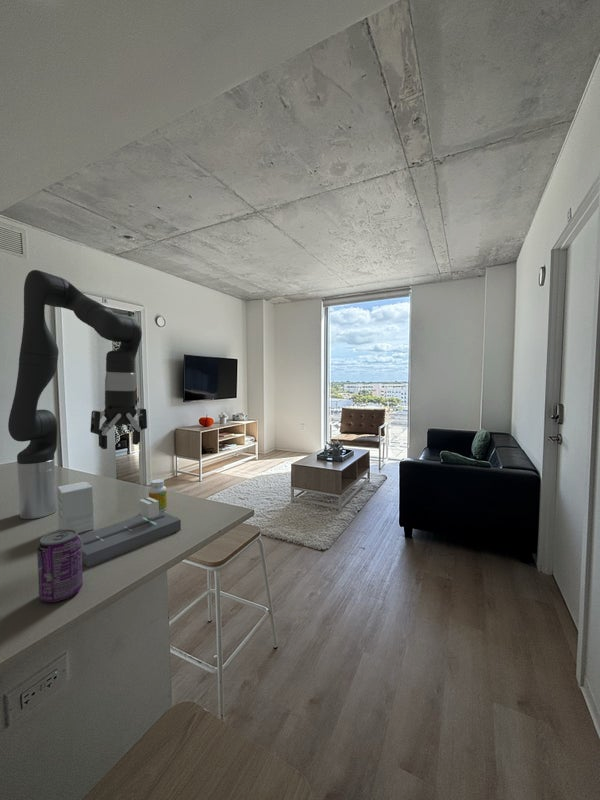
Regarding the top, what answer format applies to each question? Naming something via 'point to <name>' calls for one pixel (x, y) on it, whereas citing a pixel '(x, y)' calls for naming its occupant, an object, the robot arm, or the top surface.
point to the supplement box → (76, 507)
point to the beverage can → (59, 565)
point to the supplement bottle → (159, 493)
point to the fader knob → (149, 507)
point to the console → (125, 536)
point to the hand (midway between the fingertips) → (120, 446)
